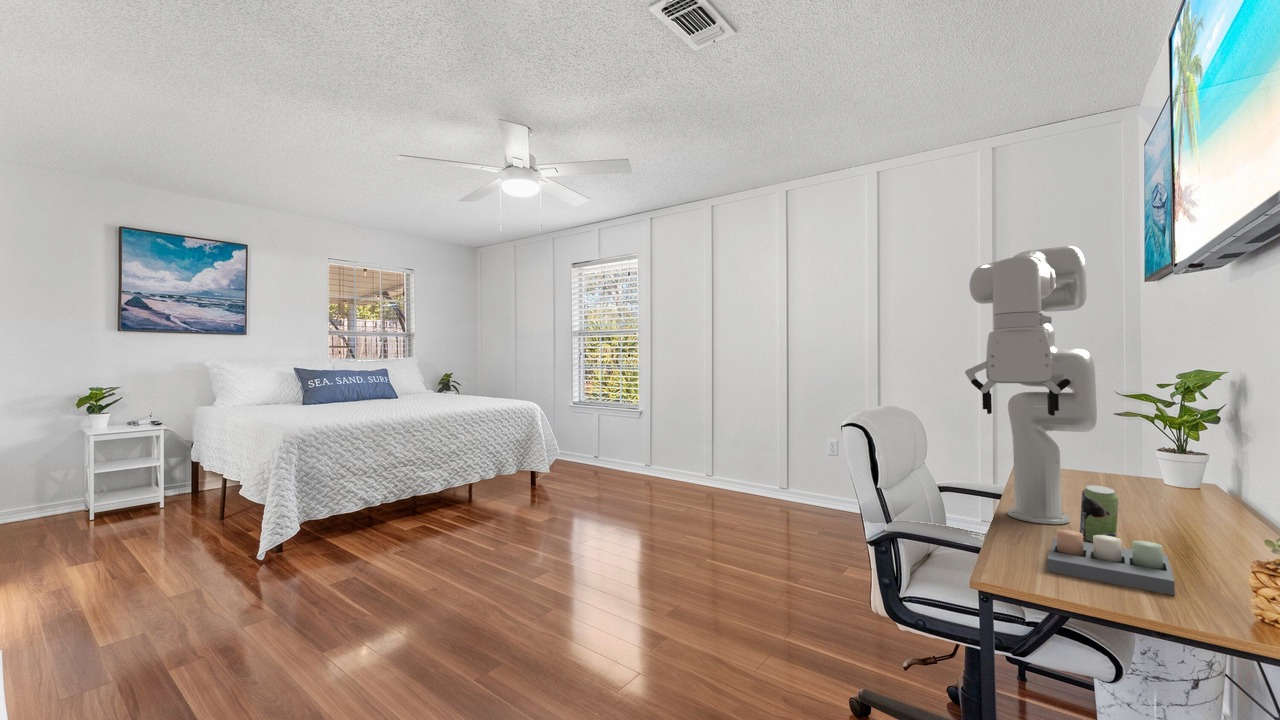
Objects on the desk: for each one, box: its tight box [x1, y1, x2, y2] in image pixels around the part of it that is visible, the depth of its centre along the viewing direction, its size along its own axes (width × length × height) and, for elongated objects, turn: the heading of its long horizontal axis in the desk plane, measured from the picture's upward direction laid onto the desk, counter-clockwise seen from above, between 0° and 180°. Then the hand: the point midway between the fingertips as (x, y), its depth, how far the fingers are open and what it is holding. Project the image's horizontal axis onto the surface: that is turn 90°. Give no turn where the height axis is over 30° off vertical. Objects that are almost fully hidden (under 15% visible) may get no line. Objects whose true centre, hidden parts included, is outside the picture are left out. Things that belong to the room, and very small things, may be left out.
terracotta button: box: [1056, 529, 1084, 555], centre depth 105 cm, size 4×4×4 cm
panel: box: [1046, 537, 1176, 596], centre depth 102 cm, size 16×17×2 cm
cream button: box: [1092, 535, 1122, 562], centre depth 101 cm, size 4×4×4 cm
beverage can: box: [1079, 484, 1119, 543], centre depth 118 cm, size 6×7×12 cm
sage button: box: [1131, 540, 1164, 569], centre depth 98 cm, size 4×4×4 cm
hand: (1019, 414), depth 102 cm, fingers open, 9 cm apart
